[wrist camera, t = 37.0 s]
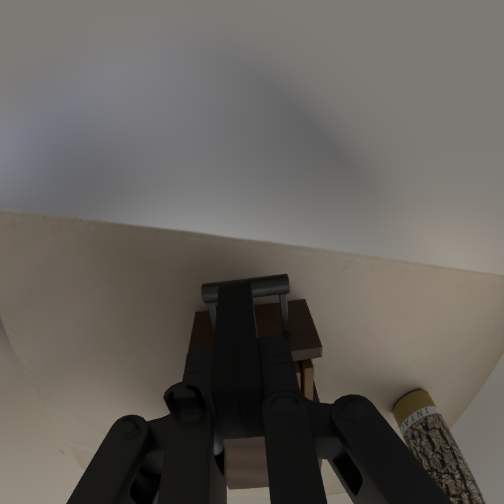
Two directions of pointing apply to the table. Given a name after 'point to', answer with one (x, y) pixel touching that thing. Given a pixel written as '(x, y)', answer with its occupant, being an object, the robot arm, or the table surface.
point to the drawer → (268, 322)
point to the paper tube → (436, 447)
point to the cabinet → (250, 460)
